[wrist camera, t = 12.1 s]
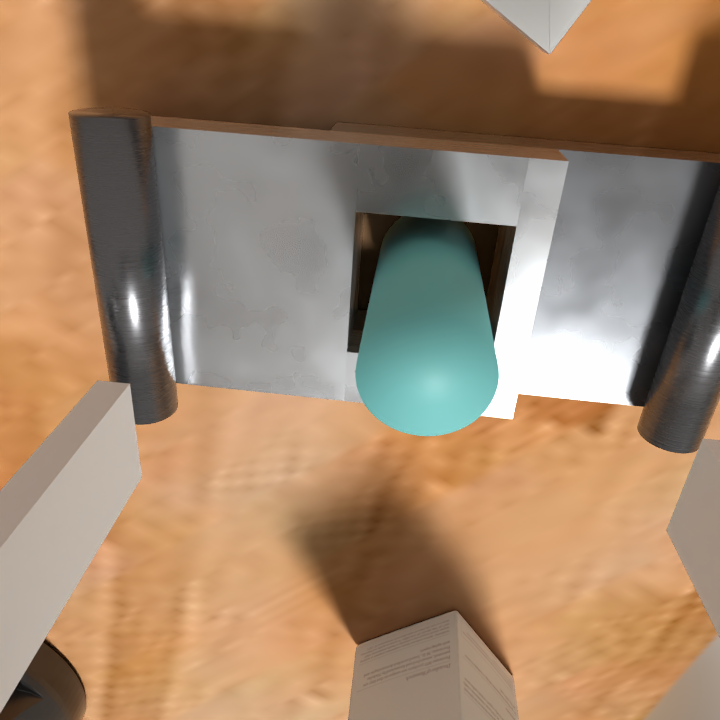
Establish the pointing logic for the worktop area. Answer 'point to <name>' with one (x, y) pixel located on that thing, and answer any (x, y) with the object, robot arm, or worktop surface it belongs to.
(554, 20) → the picture frame
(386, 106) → the worktop surface
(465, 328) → the pin
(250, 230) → the plate with side rollers
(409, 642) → the supplement box
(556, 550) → the worktop surface
